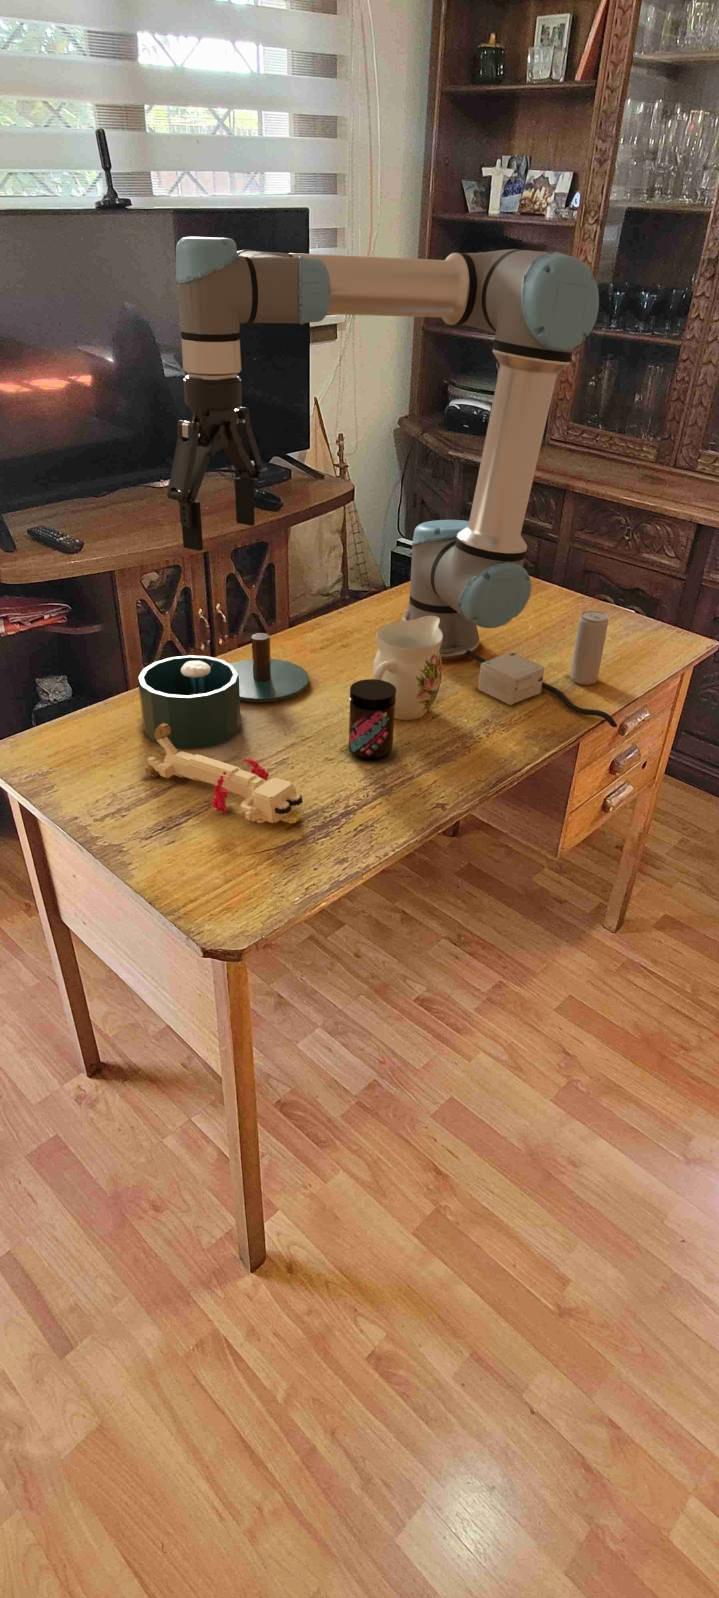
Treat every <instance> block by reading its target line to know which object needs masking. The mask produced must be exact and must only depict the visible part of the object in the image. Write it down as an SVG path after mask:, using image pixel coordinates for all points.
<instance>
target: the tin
mask: <svg viewBox="0 0 719 1598" xmlns="http://www.w3.org/2000/svg"><path fill="white" fill-rule="evenodd" d="M214 659H215V660H214ZM188 661H202V662H205V663H207V664H208V665H209V666H210V668H211V666H212V668H211V675H210V690H209V692H208V693H203V694H195V695H185V690H184V685H183V680H182V675H181V668H182V666H183V665H184V664H185V663H186V662H188ZM213 661H214V663H213ZM212 663H213V665H212ZM231 664H232V663H230V662H228V661H225V660H224V659H221V658H216V657H212V656H207V655H194V654H193V655H190V654H189V655H179V656H171V657H167V658H163V659H161V660H158V661H154V662H152V663H150V664H149V665H147V666H145V667H144V668H142V670H141V672H140V673H139V675H138V676H137V682H138V691H139V700H140V701H139V702H140V710H141V718H142V725H143V730H144V733H145V735H146V737H148V738H149V739H150V740H152V741H153V742H154V743H157V744H159V742H157V739H155V734H154V733H156V731H155V730H156V729H157V728H158V727H159V725H161V724H163V723H165V724H168V726H169V727H170V729H171V733H170V734H169V735H167V736H166V737H167V738H168V739H169V741H170V742H171V744H173V746H174V747H175V749H201V748H207V747H212V746H215V745H218V744H221V743H223V742H224V743H225V742H226V741H227V740H230V739H231V738H232V737H234V735H236V734H237V733H238V731H239V730H240V726H241V722H242V719H241V717H242V716H241V700H240V691H239V674H238V672H237V670H236V668H235V667H234V666H233V665H231Z"/></svg>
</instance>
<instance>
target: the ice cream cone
mask: <svg viewBox="0 0 719 1598" xmlns="http://www.w3.org/2000/svg"><path fill="white" fill-rule="evenodd" d="M214 660H215V659H214ZM213 663H214V661H213ZM213 663H212V665H213ZM211 668H212V666H211ZM211 668H210V666H209V665H208V664H207V663H205V662H202V661H188V662H186V663H185V664H184V665H183V666H182V668H181V675H182V680H183V685H184V690H185V695H195V694H203V693H208V692H209V690H210V675H211Z"/></svg>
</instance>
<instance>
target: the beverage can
mask: <svg viewBox="0 0 719 1598" xmlns="http://www.w3.org/2000/svg"><path fill="white" fill-rule="evenodd" d="M608 625H609V616H608V614H607V613H604V612H602V611H597V610H586V611H582V612H581V613H580V616H579V618H578V624H577V630H576V636H575V641H574V648H573V654H572V660H571V666H570V673H569V677H570V679H571V680H572V682H574V683H575V684H577V685H580V686H581V685H582V686H590V685H593V684H595V683H596V682H597V681H598V680H599V674H600V668H601V663H602V658H603V653H604V646H605V643H606V638H607V637H606V636H607V631H608Z"/></svg>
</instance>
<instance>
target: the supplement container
mask: <svg viewBox="0 0 719 1598" xmlns="http://www.w3.org/2000/svg"><path fill="white" fill-rule="evenodd" d="M395 702H396V688H395V686H394V685H392V684H391V683H389V682H386V681H383V680H377V679H372V678H367V679H361V680H358V681H355V682H353V683H352V684H351V685H350V687H349V719H348V722H349V723H348V724H349V725H348V751H349V752H350V754H351V755H352V757H354V758H356V759H358V760H361V761H365V762H379V761H383V760H385V759H386V758H388V757H389V756H390V755H391V754H392V753H393V750H394V735H395V734H394V732H395V718H394V717H395Z"/></svg>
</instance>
